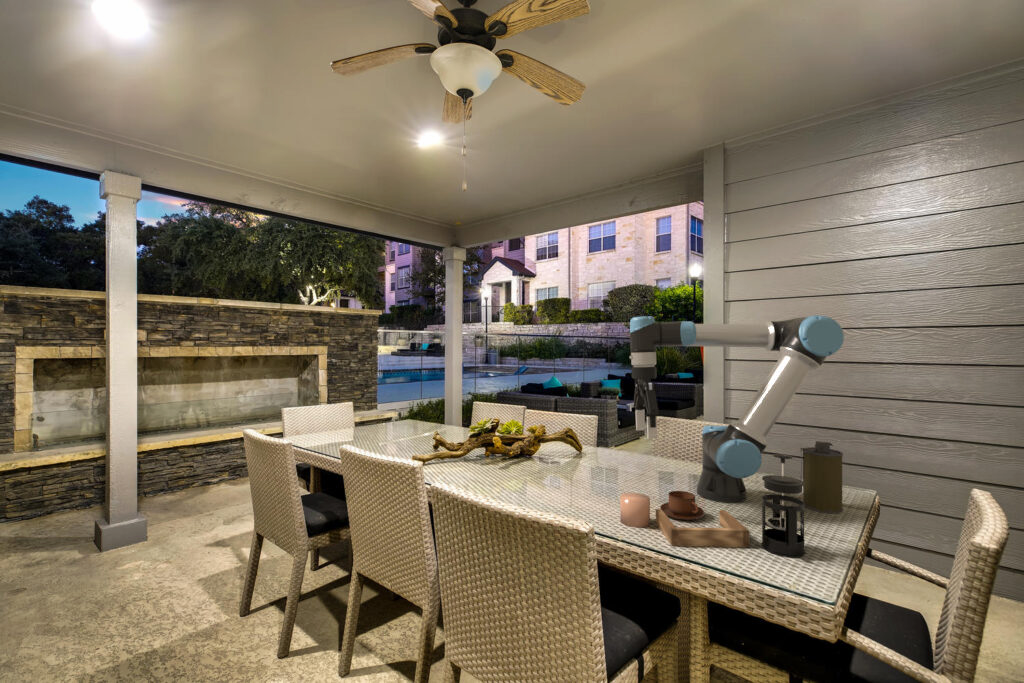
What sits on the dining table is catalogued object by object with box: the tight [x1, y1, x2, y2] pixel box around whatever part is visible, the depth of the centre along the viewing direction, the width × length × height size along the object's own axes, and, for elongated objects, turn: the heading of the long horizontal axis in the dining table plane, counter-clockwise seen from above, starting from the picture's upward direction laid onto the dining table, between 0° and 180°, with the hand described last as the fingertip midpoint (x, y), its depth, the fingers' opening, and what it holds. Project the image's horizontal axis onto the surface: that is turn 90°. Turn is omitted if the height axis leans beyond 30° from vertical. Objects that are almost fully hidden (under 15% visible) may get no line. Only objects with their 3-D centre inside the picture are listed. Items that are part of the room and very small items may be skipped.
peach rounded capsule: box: [619, 492, 651, 529], centre depth 133 cm, size 8×8×7 cm
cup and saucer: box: [659, 490, 705, 521], centre depth 139 cm, size 12×12×6 cm
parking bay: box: [655, 508, 750, 548], centre depth 125 cm, size 19×14×4 cm
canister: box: [800, 440, 844, 514], centre depth 146 cm, size 11×10×20 cm
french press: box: [760, 453, 806, 559], centre depth 115 cm, size 12×9×23 cm
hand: (646, 434), depth 148 cm, fingers open, 13 cm apart
